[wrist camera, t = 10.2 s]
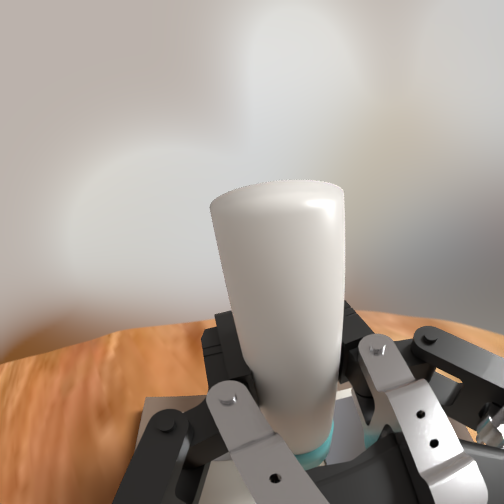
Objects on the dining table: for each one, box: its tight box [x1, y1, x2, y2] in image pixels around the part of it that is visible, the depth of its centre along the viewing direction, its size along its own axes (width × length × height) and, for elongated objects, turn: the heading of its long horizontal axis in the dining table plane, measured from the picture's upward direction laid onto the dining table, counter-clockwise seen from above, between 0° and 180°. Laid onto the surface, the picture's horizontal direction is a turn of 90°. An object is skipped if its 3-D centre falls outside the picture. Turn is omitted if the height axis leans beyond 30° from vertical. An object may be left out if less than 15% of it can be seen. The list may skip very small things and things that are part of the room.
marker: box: [210, 180, 345, 471], centre depth 10 cm, size 3×3×13 cm
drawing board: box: [134, 381, 474, 504], centre depth 10 cm, size 20×16×2 cm
